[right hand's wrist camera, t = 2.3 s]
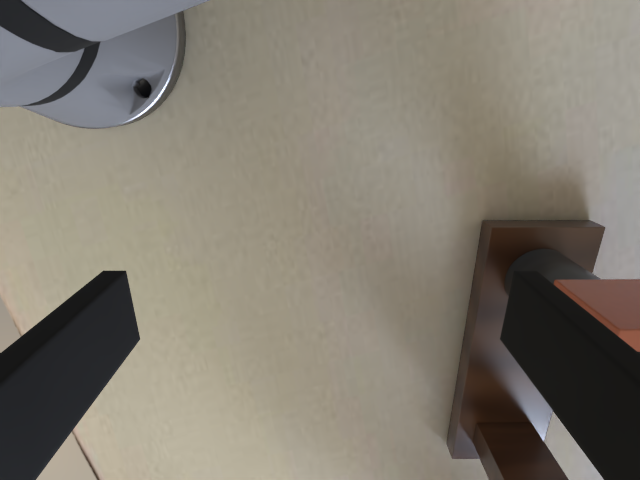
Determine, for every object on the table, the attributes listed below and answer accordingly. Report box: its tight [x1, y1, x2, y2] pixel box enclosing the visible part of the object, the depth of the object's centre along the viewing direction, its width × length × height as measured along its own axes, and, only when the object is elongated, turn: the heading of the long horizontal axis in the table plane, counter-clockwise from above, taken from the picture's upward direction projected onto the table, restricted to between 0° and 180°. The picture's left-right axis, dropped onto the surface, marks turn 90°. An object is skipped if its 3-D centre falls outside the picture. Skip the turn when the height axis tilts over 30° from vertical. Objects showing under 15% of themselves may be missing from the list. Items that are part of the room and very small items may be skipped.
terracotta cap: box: [554, 279, 640, 352], centre depth 24 cm, size 8×8×6 cm
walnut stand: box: [447, 220, 605, 480], centre depth 34 cm, size 28×10×12 cm, turn 0°
